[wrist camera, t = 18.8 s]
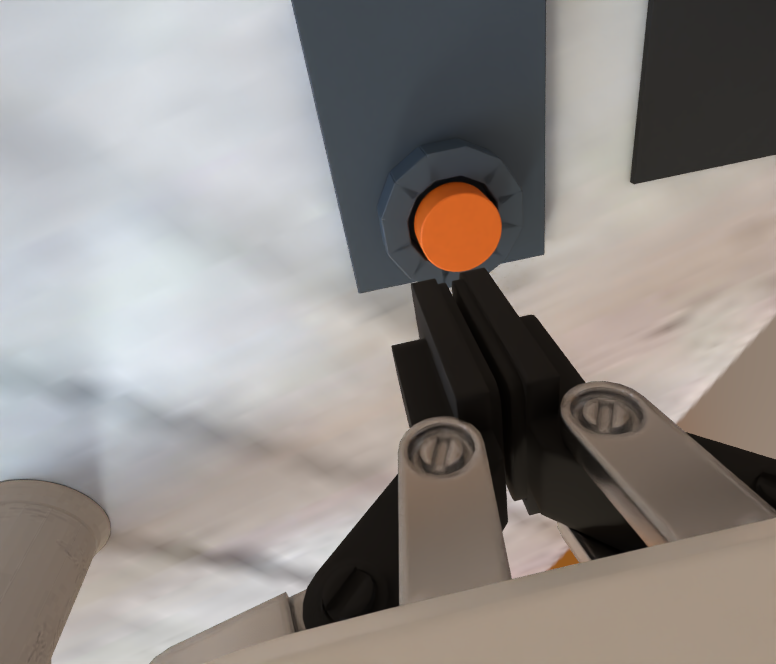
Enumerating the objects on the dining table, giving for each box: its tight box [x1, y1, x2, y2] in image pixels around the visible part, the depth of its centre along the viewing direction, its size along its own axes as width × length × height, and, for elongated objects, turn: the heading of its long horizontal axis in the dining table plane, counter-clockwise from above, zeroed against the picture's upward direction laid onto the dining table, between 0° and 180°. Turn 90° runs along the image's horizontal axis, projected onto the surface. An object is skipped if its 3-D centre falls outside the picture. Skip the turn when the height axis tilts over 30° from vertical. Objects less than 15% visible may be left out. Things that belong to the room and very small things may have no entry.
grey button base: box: [291, 0, 546, 293], centre depth 22 cm, size 13×10×3 cm
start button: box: [414, 182, 502, 272], centre depth 22 cm, size 4×4×2 cm
